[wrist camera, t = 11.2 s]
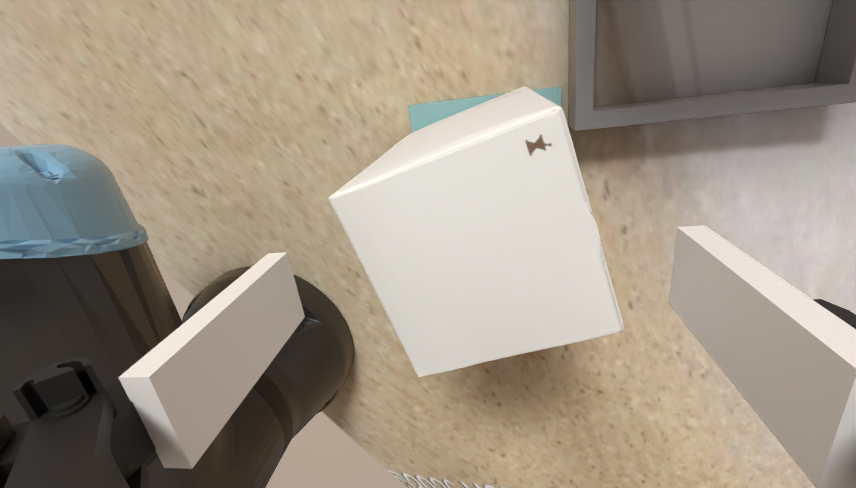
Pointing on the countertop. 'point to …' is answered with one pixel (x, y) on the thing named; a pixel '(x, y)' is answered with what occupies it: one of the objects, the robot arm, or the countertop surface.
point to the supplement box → (482, 237)
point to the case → (835, 84)
